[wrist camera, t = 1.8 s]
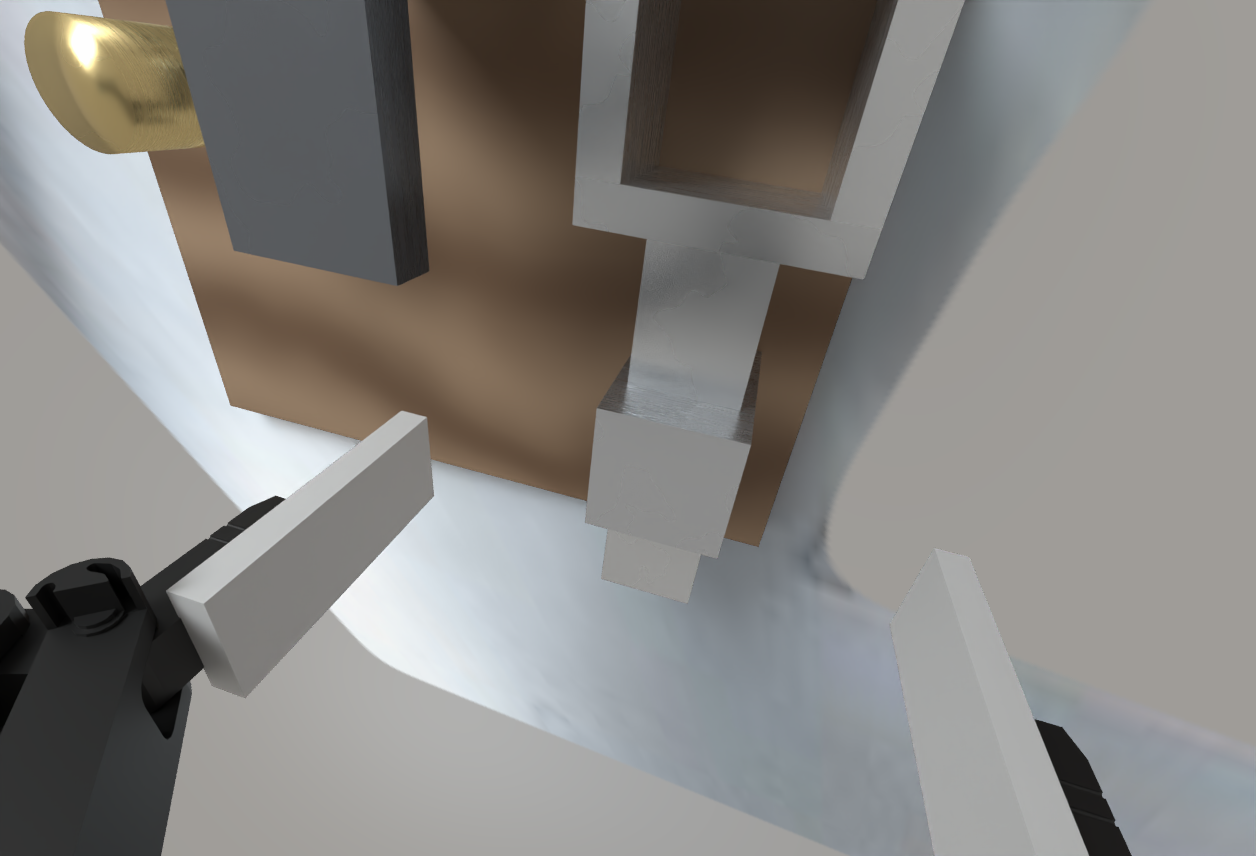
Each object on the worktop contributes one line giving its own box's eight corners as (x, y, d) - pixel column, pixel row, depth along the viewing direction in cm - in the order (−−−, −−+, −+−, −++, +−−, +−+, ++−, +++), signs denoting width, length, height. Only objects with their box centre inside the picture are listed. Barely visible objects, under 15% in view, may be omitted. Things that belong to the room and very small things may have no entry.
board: (82, -167, 17) (38, -184, 16) (971, -93, 13) (986, -109, 12) (250, 394, 27) (230, 405, 26) (759, 527, 24) (758, 546, 23)
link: (651, -107, 13) (566, -234, 8) (952, -81, 12) (1065, -208, 7) (589, 492, 23) (534, 597, 18) (749, 535, 22) (737, 658, 17)
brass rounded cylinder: (274, 38, 18) (2, 4, 12) (346, 48, 18) (104, 19, 12) (292, 131, 20) (59, 144, 13) (359, 143, 19) (151, 162, 13)
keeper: (420, -114, 15) (45, -333, 8) (588, -99, 14) (360, -325, 7) (440, 190, 19) (214, 246, 12) (570, 214, 19) (418, 290, 11)
